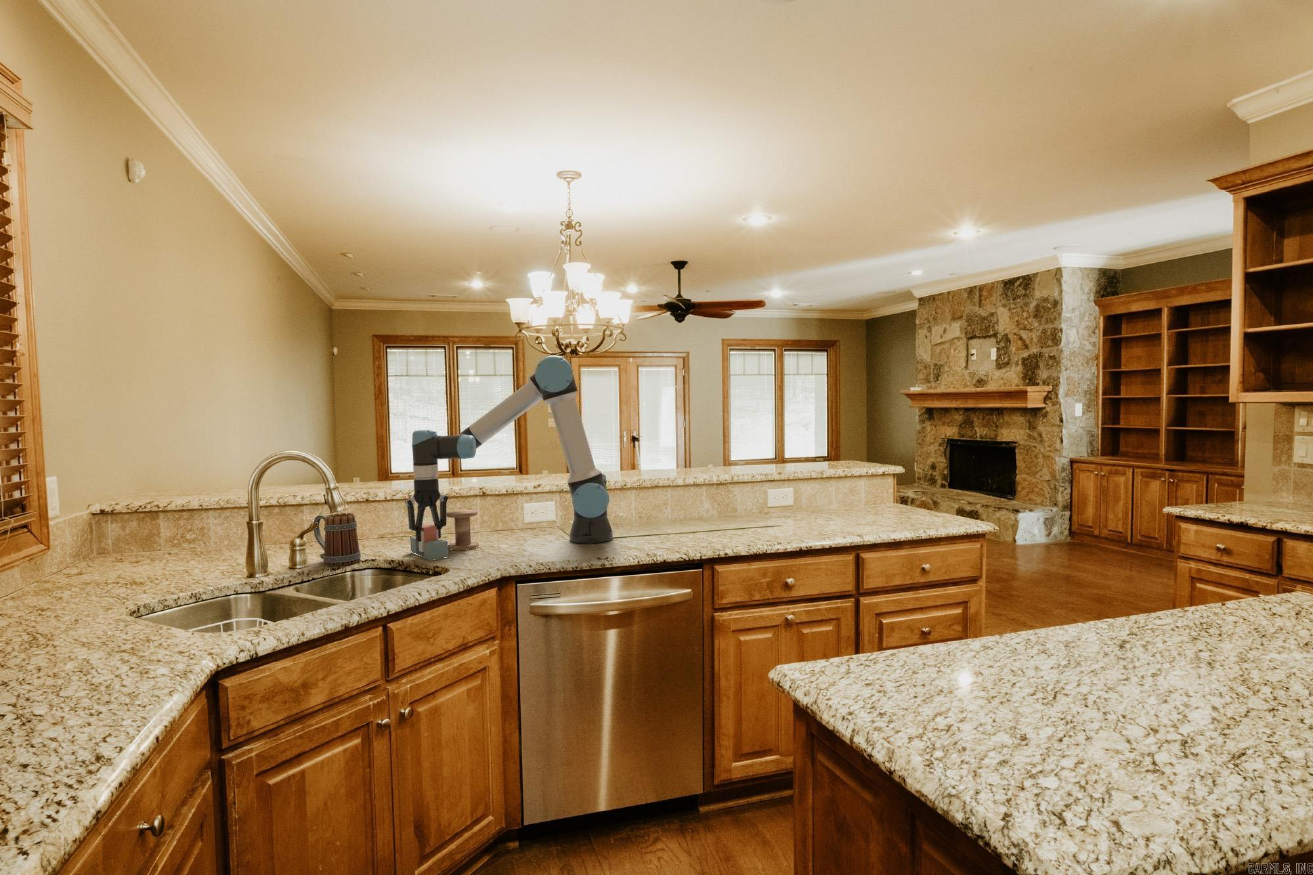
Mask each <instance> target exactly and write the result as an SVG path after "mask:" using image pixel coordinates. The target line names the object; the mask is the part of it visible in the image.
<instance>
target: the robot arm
mask: <svg viewBox="0 0 1313 875" xmlns="http://www.w3.org/2000/svg"><path fill="white" fill-rule="evenodd" d="M578 393H579V390H578V387H577V383H576V380H575V377H574V371H573V366H572V365H571V363H570V361H568V360H567V358H565V357H563V356H560V355H557V354H556V355H554V354H553V355H548V356H546V357H543V358H542V359H540V361H539V362H538V364H537V365H536V367H535V371H534V373H533V374H532V375H531V376H528V379H527V382H526V383H525V384H524V385H522V386H521V387H520V388H519V389H517V390H516V391H514V392H513V393H512V394H511V395H509V396H507V397H506V398H505V399H504V400H502V401H501V402H500V403H499V404H497V405H495V406H494V407H493V408H492V409H491V410H489V411H488V412H487V413H485V414H484V415H482V416H481V417H479V419H477V420H475V421H474V422H473V423H472V424H471V425H469V426H468V427H466V428H465V429H463V430H462V431H461V432H460V433H458V434H455V435H438V434H437V433H438V432H437V430H436V429H422V430H421V429H418V430H414V431H413V432H412V436H411V441H412V444H411V447H412V448H411V449H412V469H413V470H412V471H413V473H412V474H413V478H415V479H414V480H413V490H414V492H413V496H412V497H410V498H408V499H405V501H404V503H405V506H406V507H407V517H408V518H407V519H408V528H409V530H410V531H414V532H415V536H416V541H417V542H419V551H421V552H424V532H423V531H421V529H422V526H423V521H424V516H425V511H426V509H427V508H429V509H430V513H431V517H432V521H433V525H434V526H436V528H437V540H441V538H442V529H443V527H446V526H447V503H448V501H449V500H448V499H449V496H448V495H443V494H441V493H440V491H439V489H440V487H439V486H440V485H439V482H440V481H439V478H438V477H439V464H438V460H456V459H460V460H461V459H462V460H465V459H473V458H475V456H476V454H477V449H478V448H479V447H481V446H482V445H483V444H485V443H486V442H488V440H490V439H491V438H493V437H494V436H495V435H496V434H498V433H499V432H501V431H502V430H503V429H504V428H506V427H507V426H509V425H510V424H511V423H513V422H514V421H515V420H517V419H518V418H519V417H521V416H522V415H523V414H525V413H526V412H527V411H529V410H530V409H532V408H533V407H534V406H536V404H538V403H540V402H541V401H543V402H544V404H547V405H549V408H550V411H551V416H552V418H553V422H554V425H555V428H556V431H557V435H558V438H559V441H560V446H561V449H562V452H563V455H564V459H565V462H566V466H567V468H568V473H569V477H568V479H567V481H566V482H567V485H568V490H569V493H570V496H571V501H572V502H571V503H572V507H573V520H572V524H571V528H570V531H569V542H572V543H576V544H577V543H578V544H597V543H606V542H608V541H609V542H610V541H612V540H613V538H614V534H613V533H614V532H613V529H612V527H611V524H610V520H609V517H608V507H609V504H610V494H609V492H608V491H607V490H608V489H607V483H608V480H607V476H606V474H604V473H602V471H601V470H599V469H597V468H596V466H595V465H596V464H595V463H594V459H593V455H592V451H591V448H590V445H589V441H588V438H587V435H586V431H585V427H584V423H583V420H582V417H581V414H580V410H579V407H578V404H577V400H576V397H577V395H578ZM438 500H439V511H438V506H437V502H438ZM415 502H416V504H417V511H416V512H417V513H416V516H415ZM438 512H439V513H438Z"/></svg>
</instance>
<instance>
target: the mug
mask: <svg viewBox="0 0 1313 875" xmlns="http://www.w3.org/2000/svg"><path fill="white" fill-rule="evenodd" d="M321 520H323V521H324V527H323V531H324V538H323V536H322V534H321V531H320V523H321V522H320V521H321ZM315 522H318V526H317V528H315V529H314V530H313V534H314V537H315V540H316V542H317V543H318V544H319V545H320V547H321V548H322V550H323V551H324V552H322V553H319V557H320V559H322V560H323V563H324V565H325V566H327V567H345V566H351V565H355V564H358V563H359V562H360V561H361V556H362V555H361V550H360V546H359V544H360V543H359V538H358V530H357V527H358V524H357V520H356V515H355V513H354V512H353V513H351V512H347V513H346V512H341V513H334V514H333V513H332V514H329V515H327V514H319V515H317V516H316V517H314V520H313V523H312V525H313V524H314V523H315Z"/></svg>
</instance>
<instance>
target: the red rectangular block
mask: <svg viewBox="0 0 1313 875" xmlns="http://www.w3.org/2000/svg"><path fill="white" fill-rule="evenodd" d="M421 531H423V532H424V542H428V541H435V540H437V528H436V526H434V524H428V525H422V529H421Z"/></svg>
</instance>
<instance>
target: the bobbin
mask: <svg viewBox="0 0 1313 875" xmlns="http://www.w3.org/2000/svg"><path fill="white" fill-rule="evenodd" d="M475 516H478V511H477V510H475V509H458V510H450V511H448V512H447V511H446V518H452V519H454V539H455V542H452V543H449V544H448V550H449V549H452V550H451V551H453V550H463V551H467V550H466V549H471V550H474V549H473V548H475V549H477V548H479V547H478V546H479V542H478V541H472V539H471V538H472V537H471V536H472V535H471V534H472V533H471V517H475ZM476 547H477V548H476Z"/></svg>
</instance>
